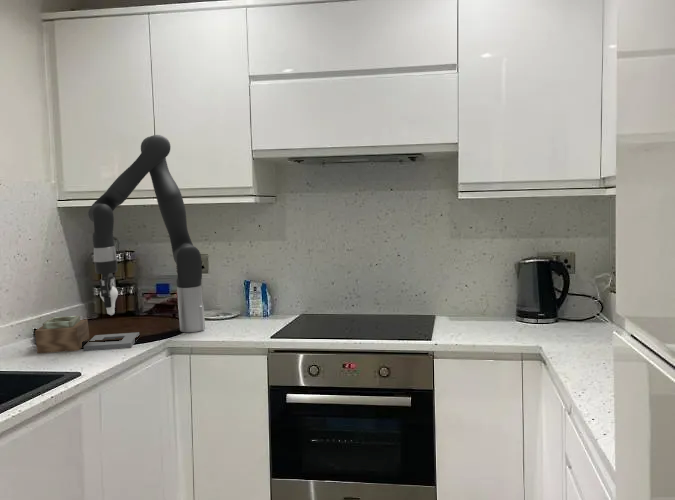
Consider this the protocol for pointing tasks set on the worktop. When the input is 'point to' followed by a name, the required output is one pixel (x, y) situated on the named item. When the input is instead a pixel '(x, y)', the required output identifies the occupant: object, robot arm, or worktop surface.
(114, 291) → the lightbulb
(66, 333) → the raised socket
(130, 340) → the frame
